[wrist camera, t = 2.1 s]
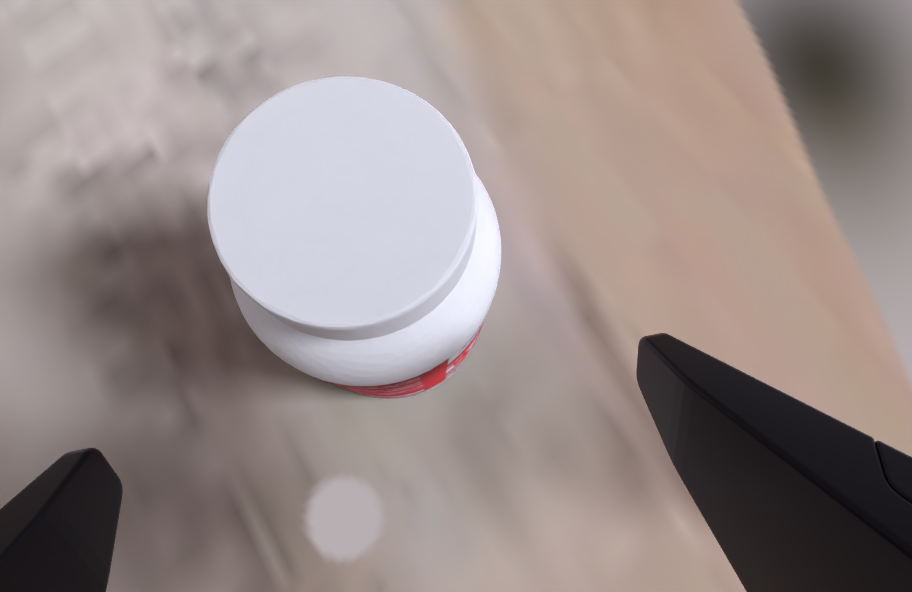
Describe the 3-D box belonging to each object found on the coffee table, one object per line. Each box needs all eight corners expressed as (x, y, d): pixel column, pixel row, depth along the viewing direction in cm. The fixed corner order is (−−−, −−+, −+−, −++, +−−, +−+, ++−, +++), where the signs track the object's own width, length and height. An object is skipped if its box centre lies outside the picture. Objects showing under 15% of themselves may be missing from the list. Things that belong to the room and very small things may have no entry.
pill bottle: (472, 406, 20) (509, 394, 9) (298, 391, 20) (123, 360, 9) (485, 238, 21) (531, 50, 10) (322, 224, 21) (195, 19, 10)
